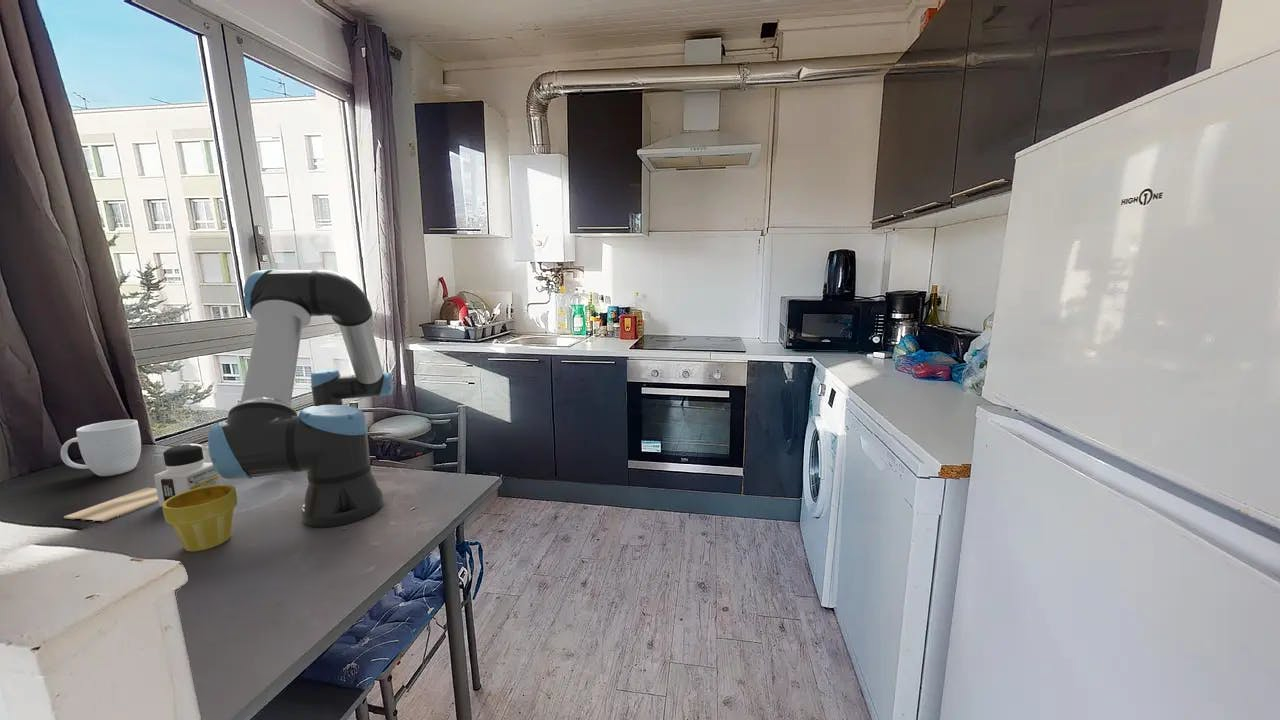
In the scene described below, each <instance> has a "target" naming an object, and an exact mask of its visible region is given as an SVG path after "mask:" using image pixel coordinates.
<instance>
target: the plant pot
mask: <svg viewBox="0 0 1280 720" xmlns="http://www.w3.org/2000/svg"><path fill="white" fill-rule="evenodd" d="M237 505H238V496H237V491H236V487H235V486H233V485H230V484H220V485H212V486H206V487H201V488H196V489H193V490H189V491H186V492H183V493H180V494H178V495H175V496H173V497H171V498H169V499H168V500H166V501H165V502H164V503H163V504H162V507H161V508H162V509H161V510H162V512H163V513H162V514H163V518H164V522H165V523H167V524H168V525H171V527H172V528H173V529H174V532H175V533H176V535H177V537H178V539H179V541H180V542H181V545H182V547H183V549H184V550H185V551H186V552H192V553H193V552H200V551H206V550H209V549H212V548H215V547H217V546H220V545H222V544H224V543H225V542H226V541H228V540H229V539H230V538H231V537H232V527H233V526H232V525H233V517H234V509H235V507H236V506H237Z"/></svg>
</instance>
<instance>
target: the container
mask: <svg viewBox="0 0 1280 720" xmlns="http://www.w3.org/2000/svg"><path fill="white" fill-rule="evenodd" d="M204 452H205V451H204V447H203V445H201V444H199V443H185V444H179V445H178V444H177V445H175V446H171V447H170V448H168V449H165V450H164V451H163V459H164V460H163V461H164V466H165V470H163V471H160V472H158V473H156V474H154V475H153V478H154V484H155V485H154V486H155V488H156V490H157V496H158V501H159V502H158V506H159V507H160V508H162V504H163V503H164V502H165V501H166V500H168V499H169V498H171V497H173V496H175V495H178V494H180V493H183V492H186V491H189V490H193V489H196V488H201V487H206V486H212V485H221V480H220V474H219V473H218V472H217V471H216V470H215V468H214V466H213V464H212V462H206V458H205V453H204Z"/></svg>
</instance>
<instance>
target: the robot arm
mask: <svg viewBox="0 0 1280 720" xmlns="http://www.w3.org/2000/svg"><path fill="white" fill-rule="evenodd" d="M243 294H244V296H243V303H244V306H245V310H246V311H247V313H248V314H249V315H250V316H251V317H252V319H253V320H254V321H255V322H256V329H255V332H254V337H253V340H252V341H253V342H252V345H251V346H252V347H251V351H250V356H249V360H248V361H249V362H248V365H247V370H246V375H245V379H244V384H243V389H242V394H241V398H240V399H241V400H240V403H239V404H236V405H234V406H232V407H231V408H230V409H229V411H228V414H227V419H226V421H219V422H216V423H213V425H212V426H211V427H210V428H209V431H208V436H207V437H208V438H207V445H208V446H206V447H205V453H206V457H207V458H208V459H210V461H211V463H212V464H213V466H214V468H215V470H216V471H217V472H218V473H219V476H221V478H225V479H227V480H235V479H236V480H238V479H249V480H250V479H252V478H258V477H266V476H273V475H282V474H289V473H295V472H303V471H304V472H305V471H306V475H307V484H308V485H307V488H306V491H305V496H304V502H303V503H304V504H303V505H302V508H301V519H302V523H303V524H305V525H306V526H309V527H313V528H328V527H329V528H330V527H338V526H342V525H347V524H350V523H354V522H357V521H360V520H362V519H365V518H367V517H369V516H371V515H372V514H375V513H376V512H377V511H379V510H380V509H381V508H382V506H383V504H384V498H383V497H384V496H383V492H382V490H381V488H380V487H379V486H378V483H377V480H376V478H375V477H374V474H373V472H372V468H371V456H370V447H369V445H370V444H369V437H368V435H369V433H368V432H369V428H368V426H367V422H366V421H367V420H366V415H365V413H364V411H362V410H361V409H360V408H357V407H354V406H350V405H346V404H344V403H343V400H349V399H362V398H374V397H375V398H376V397H378V398H379V397H382V396H383V397H385V396H390V395H392V393H393V392H394V382H393V380H394V379H393V374H392V373H391V372H389V371H387V372H386V371H383V367H382V363H381V358H380V355H379V352H378V347H377V343H376V340H375V336H374V335H375V334H374V331H373V328H372V323H371V319H372V318H373V317H372V316H373V311H372V306H371V303H370V300H369V299H368V297H367V295H366V294H365V293H364V291H363V290H362V289H361V288H360V287H359V286H358V285H357V284H356V283H355V282H354V281H352V280H351V279H350V278H348V277H346V276H345V275H343V274H340V273H338V272H336V271H333V270H329V269H328V270H327V269H316V270H313V269H309V270H308V269H307V270H306V269H276V268H272V269H270V268H269V269H262V270H255V271H253V272H252V273H251V274H250V275H248V277H247V279H246V281H245V282H244V287H243ZM324 316H329V317H331V319H332V321H333V322H334V324H337V326H339V329H340V331H341V332H340V333H341V335H342V339H343V341H344V345H345V348H346V351H347V354H348V357H349V358H348V359H349V360H350V363H351V366H352V370H353V372H354V374H340V371H339V370H338V369H337V368H336V369H335V368H327V369H326V368H325V369H324V368H323V369H319V370H315V371H313V372H312V373H311V375H310V383H311V386H310V389H311V393H312V400H313V406H308V407H305V408H303V409H301V411H300V412H299V414H298V412H297V410H295V408H293V407H292V406H291V404H292V399H293V398H292V397H293V391H294V384H295V377H296V369H297V365H298V364H297V363H298V359H299V358H298V357H299V350H300V344H301V336H302V331H303V330H304V329H305V328H307V327H308V326H309V325H310V323H311V321H312V320H311V319H312V317H324Z"/></svg>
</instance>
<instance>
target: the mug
mask: <svg viewBox="0 0 1280 720" xmlns="http://www.w3.org/2000/svg"><path fill="white" fill-rule="evenodd" d="M75 432H76V437H73V438H70V439H68V440H67V441H65V442H64V444H62V446H61V448H60V458H61V460H62V461H63V463H64V464H65V465H66V466H68V467H70V468H73V469H82V470H87V469H89V470H90V471H91V472H93V473H94V474H95V476H96V475H97V476H98V477H110V476H116V475H118V476H119V475H122V474H125V473H128V472H131V471H132V470H134V468H136V466H137V464H138V462H139V461H140V456H141V454H142V453H141V451H142V438H141V431H140V427H139V422H138V419H117V420H116V419H115V420H108V421H102V422H97V423H91V424H87V425H83V426H81V427H78V428H77V429H76V430H75ZM72 443H77V444H78V448H79V451H80V454H81V457H82V459H83V461H84V463H85V464H80V463H77V462H74V461H72V460H71V459H70V457H69V453H68V448H69V446H70V445H72Z"/></svg>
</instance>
